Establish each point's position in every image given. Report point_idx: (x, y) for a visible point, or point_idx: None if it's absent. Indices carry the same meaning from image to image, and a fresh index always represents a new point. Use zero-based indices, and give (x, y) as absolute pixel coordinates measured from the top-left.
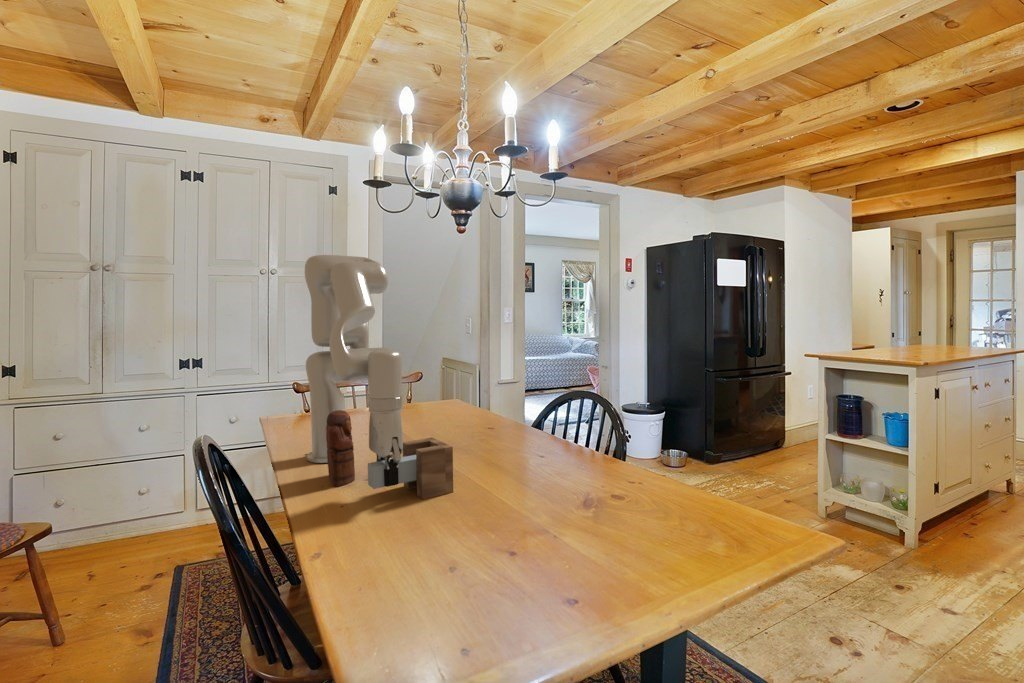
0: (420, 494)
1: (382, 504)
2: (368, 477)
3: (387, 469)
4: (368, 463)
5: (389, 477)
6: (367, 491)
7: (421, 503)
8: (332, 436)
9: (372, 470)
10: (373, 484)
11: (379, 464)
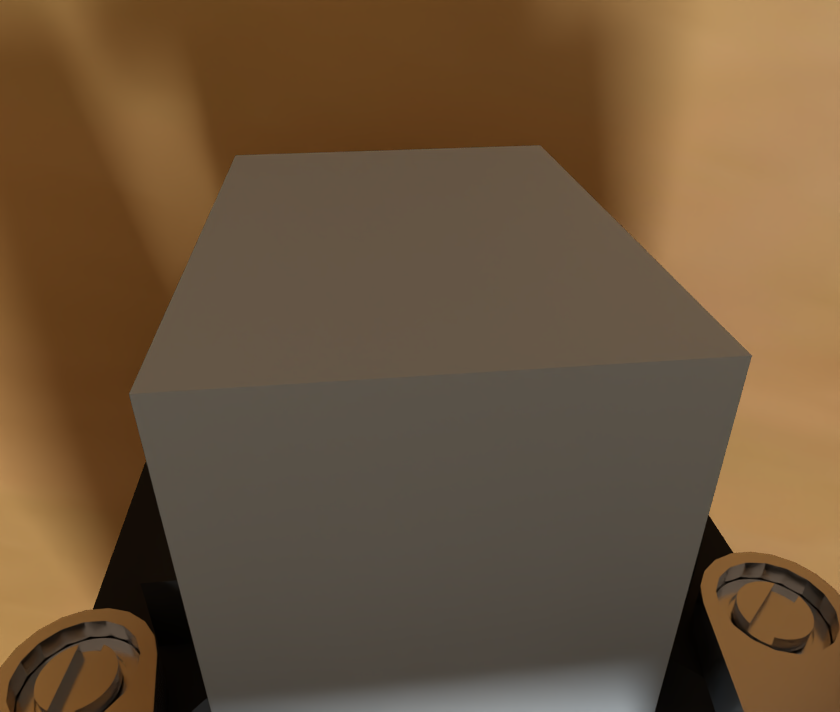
0: None
1: (209, 194)
2: (554, 191)
3: (36, 641)
4: (705, 372)
5: (126, 515)
6: (780, 176)
7: (44, 535)
8: None
9: (227, 315)
10: (230, 181)
11: (338, 607)
